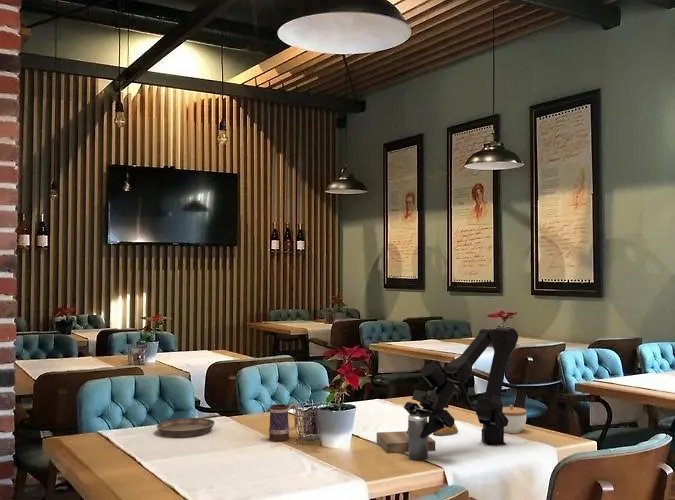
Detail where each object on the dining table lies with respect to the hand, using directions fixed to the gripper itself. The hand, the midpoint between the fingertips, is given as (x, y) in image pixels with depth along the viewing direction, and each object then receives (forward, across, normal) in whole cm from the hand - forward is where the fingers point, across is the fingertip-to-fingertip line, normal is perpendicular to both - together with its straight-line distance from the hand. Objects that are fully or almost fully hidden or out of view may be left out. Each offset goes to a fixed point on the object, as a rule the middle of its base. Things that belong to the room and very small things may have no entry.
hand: (414, 435), depth 229 cm
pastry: (-17, -20, +28) cm, 39 cm away
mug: (+19, -46, -9) cm, 51 cm away
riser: (-1, -14, +11) cm, 18 cm away
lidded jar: (-32, -9, +43) cm, 54 cm away
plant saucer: (+36, -77, -25) cm, 89 cm away
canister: (+4, 0, +6) cm, 7 cm away
